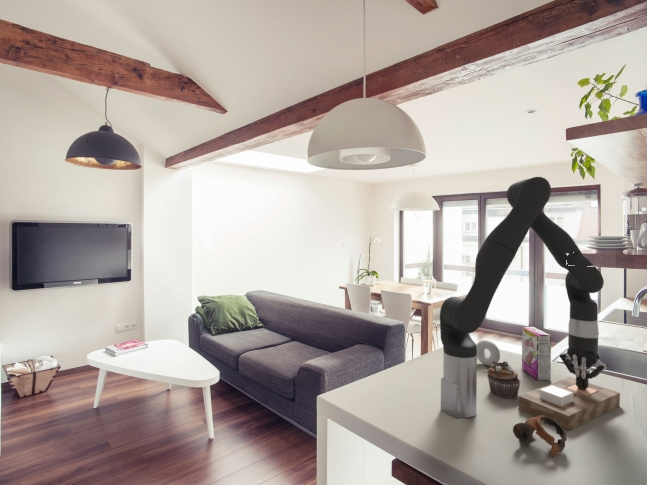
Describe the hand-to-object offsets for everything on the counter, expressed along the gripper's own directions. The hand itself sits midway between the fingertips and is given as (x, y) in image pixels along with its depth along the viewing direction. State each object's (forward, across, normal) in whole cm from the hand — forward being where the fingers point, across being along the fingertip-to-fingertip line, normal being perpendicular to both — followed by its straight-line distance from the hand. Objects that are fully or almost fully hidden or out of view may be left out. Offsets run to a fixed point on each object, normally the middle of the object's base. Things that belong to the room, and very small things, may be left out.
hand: (582, 389), depth 115 cm
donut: (+4, -35, +2) cm, 35 cm away
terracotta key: (+3, 0, 0) cm, 3 cm away
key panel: (+4, 0, -7) cm, 8 cm away
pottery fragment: (+4, +7, -35) cm, 36 cm away
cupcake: (+4, -16, -15) cm, 22 cm away
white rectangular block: (+1, 0, -14) cm, 14 cm away
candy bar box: (+4, -20, +9) cm, 22 cm away
